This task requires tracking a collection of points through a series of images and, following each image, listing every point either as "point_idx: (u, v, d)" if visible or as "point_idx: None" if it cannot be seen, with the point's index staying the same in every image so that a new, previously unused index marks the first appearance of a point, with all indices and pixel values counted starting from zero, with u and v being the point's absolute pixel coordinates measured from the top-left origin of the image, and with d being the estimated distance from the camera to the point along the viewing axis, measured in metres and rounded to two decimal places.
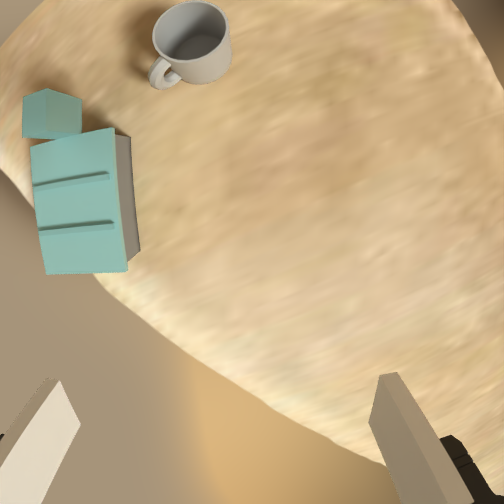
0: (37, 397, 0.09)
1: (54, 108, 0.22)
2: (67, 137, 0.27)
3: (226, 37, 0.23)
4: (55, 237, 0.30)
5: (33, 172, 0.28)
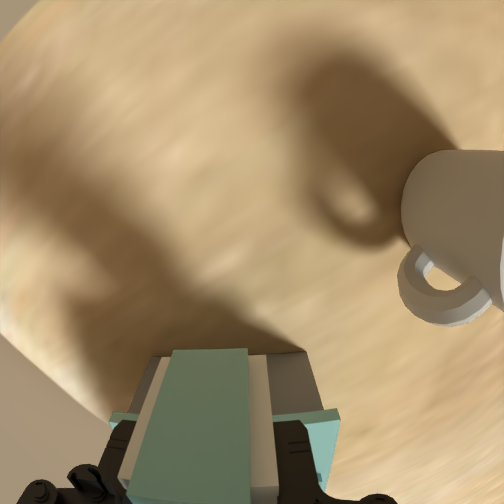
0: (162, 376, 0.11)
1: None
2: None
3: None
4: None
5: None
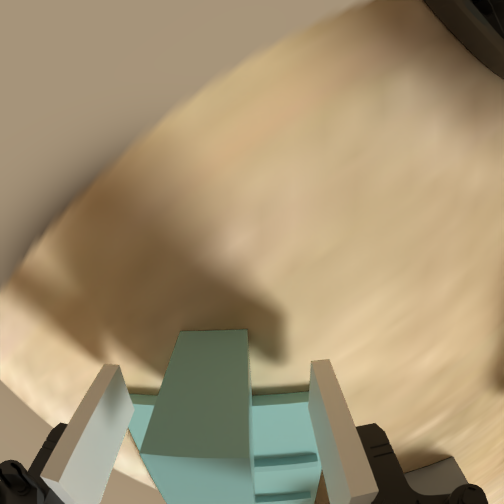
0: (99, 383, 0.11)
1: (252, 452, 0.09)
2: None
3: None
4: None
5: (138, 439, 0.15)
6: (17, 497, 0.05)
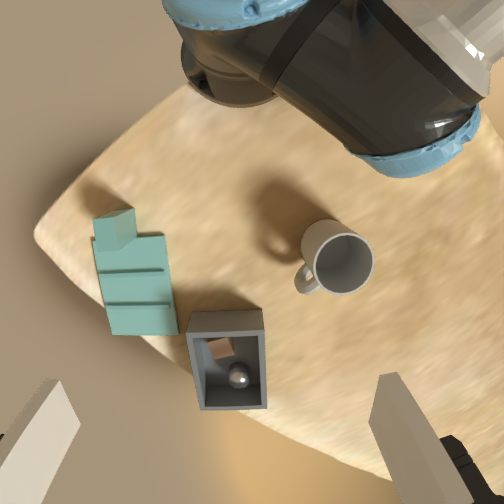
0: (38, 398, 0.09)
1: (121, 229, 0.35)
2: None
3: (371, 273, 0.34)
4: (120, 310, 0.43)
5: (97, 262, 0.41)
6: None
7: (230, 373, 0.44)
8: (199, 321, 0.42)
